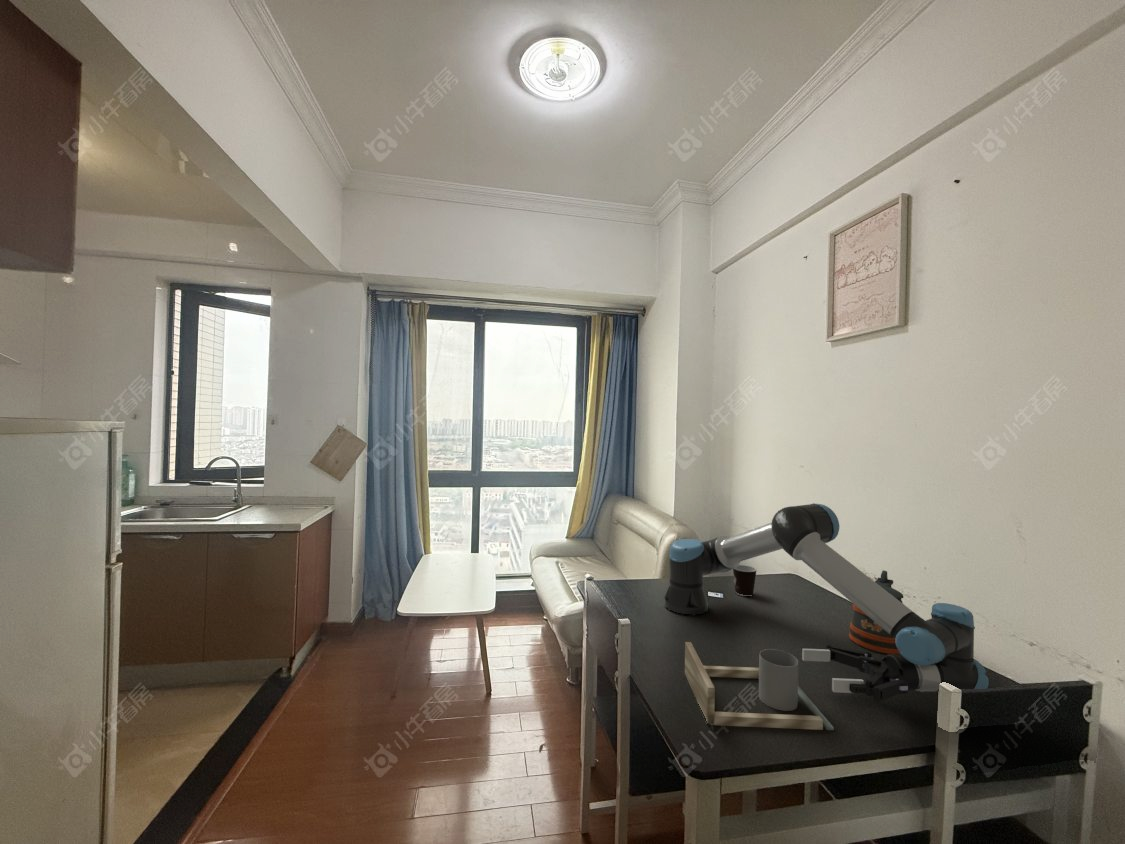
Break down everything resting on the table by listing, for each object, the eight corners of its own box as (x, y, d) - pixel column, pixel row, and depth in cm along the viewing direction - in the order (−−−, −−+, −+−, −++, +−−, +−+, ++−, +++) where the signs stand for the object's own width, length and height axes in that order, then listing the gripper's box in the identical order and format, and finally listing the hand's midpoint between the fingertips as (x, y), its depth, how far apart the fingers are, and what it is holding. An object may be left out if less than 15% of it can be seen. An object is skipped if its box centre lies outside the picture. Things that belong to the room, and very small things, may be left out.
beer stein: (854, 624, 152) (855, 563, 152) (909, 637, 142) (910, 573, 142) (845, 644, 137) (846, 577, 137) (906, 660, 128) (907, 589, 128)
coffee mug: (754, 599, 171) (754, 573, 172) (730, 595, 176) (730, 569, 176) (759, 590, 181) (759, 565, 181) (736, 586, 186) (736, 561, 186)
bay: (707, 724, 98) (707, 687, 98) (684, 672, 119) (685, 641, 119) (833, 730, 97) (834, 692, 97) (788, 676, 118) (788, 645, 118)
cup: (795, 694, 110) (795, 652, 110) (800, 714, 103) (801, 669, 103) (757, 687, 113) (757, 646, 113) (760, 705, 105) (760, 662, 105)
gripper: (952, 723, 94) (847, 718, 95) (874, 661, 119) (792, 658, 120) (952, 686, 94) (848, 682, 95) (875, 632, 119) (792, 629, 120)
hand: (816, 668), depth 108 cm, fingers open, 13 cm apart
